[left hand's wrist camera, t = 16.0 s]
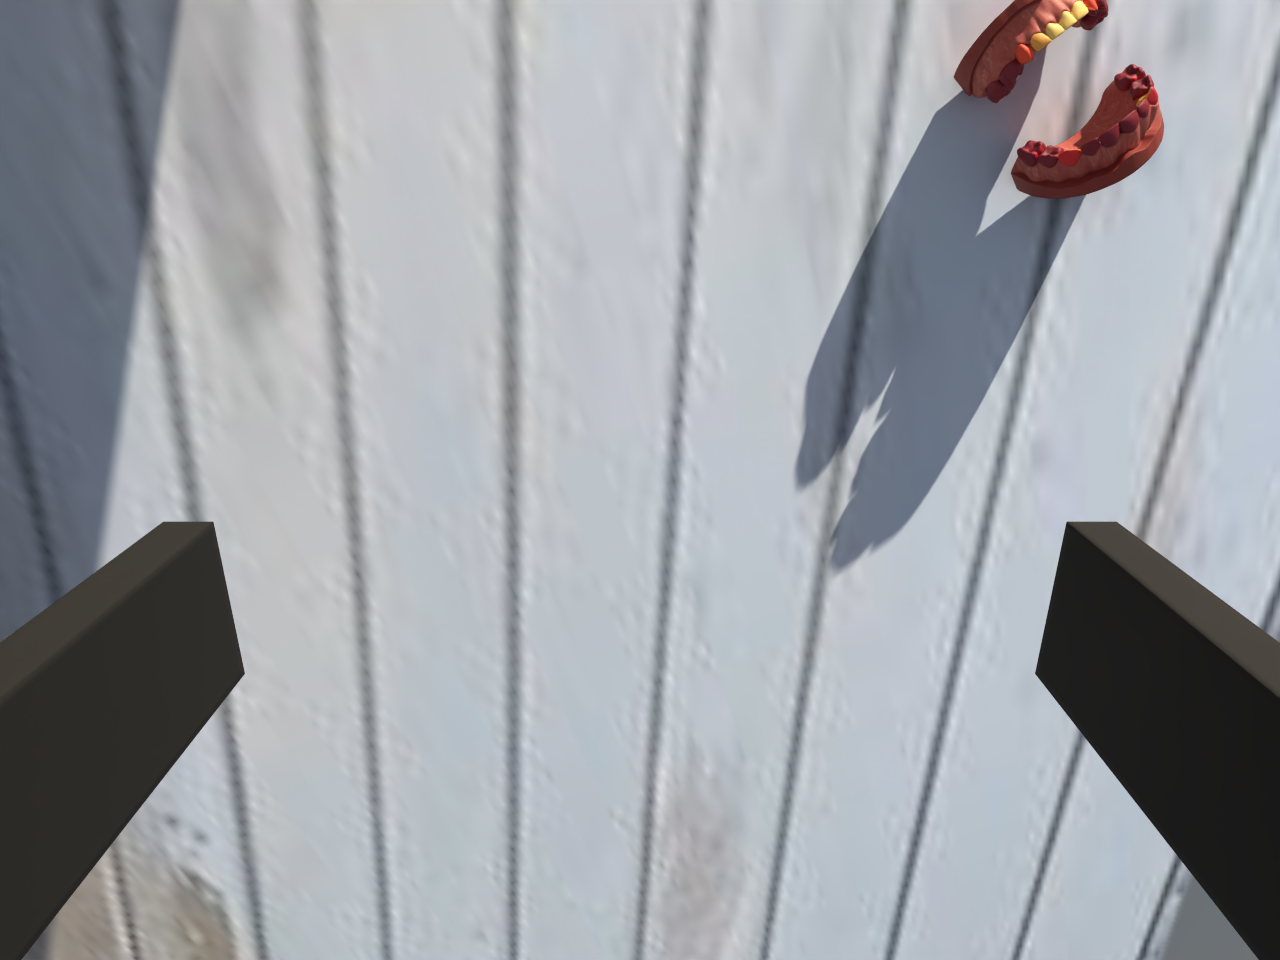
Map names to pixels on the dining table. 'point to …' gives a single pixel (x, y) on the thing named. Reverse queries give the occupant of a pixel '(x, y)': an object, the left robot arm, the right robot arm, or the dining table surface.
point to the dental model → (1109, 138)
